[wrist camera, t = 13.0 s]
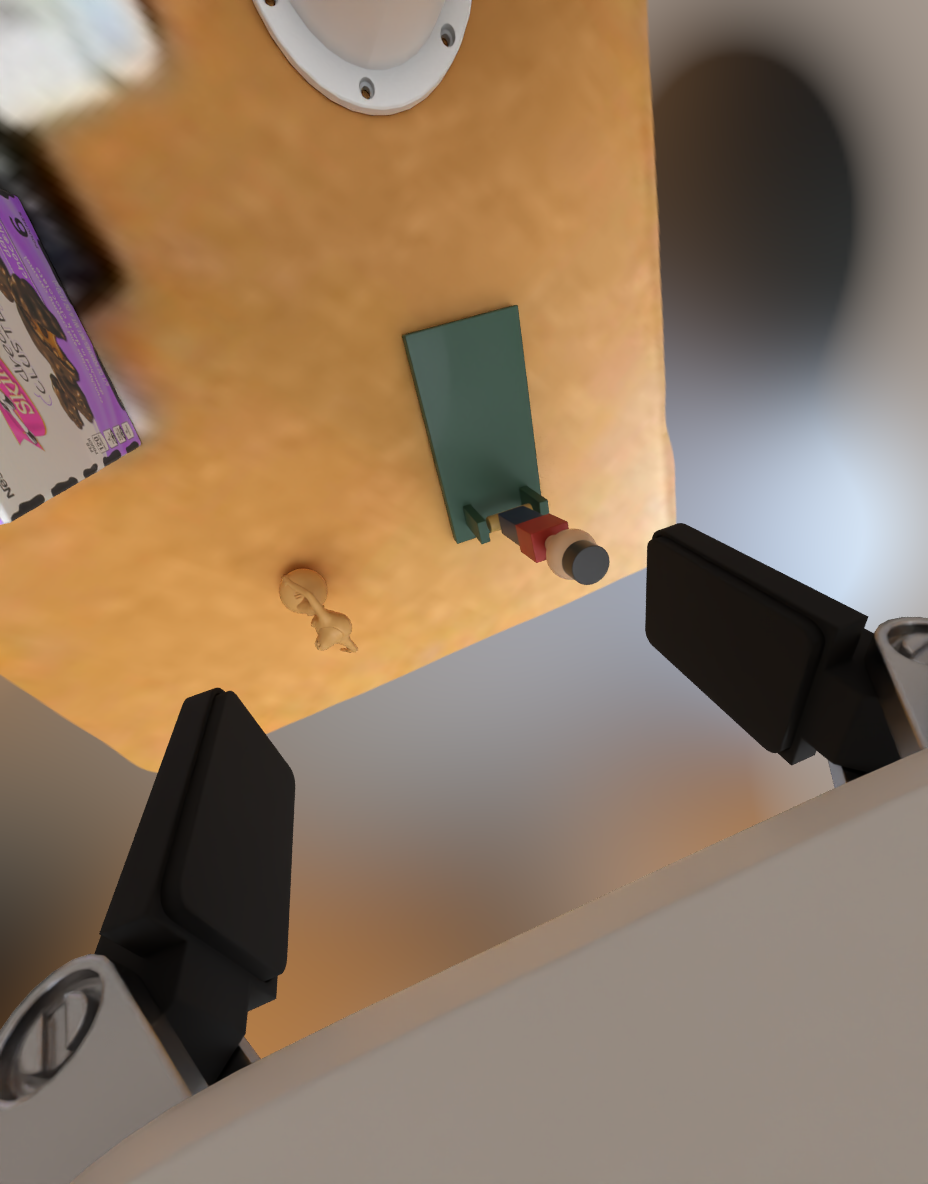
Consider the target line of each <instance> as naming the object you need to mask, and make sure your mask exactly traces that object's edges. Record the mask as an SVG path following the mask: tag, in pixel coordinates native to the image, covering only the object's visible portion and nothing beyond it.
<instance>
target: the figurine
mask: <svg viewBox="0 0 928 1184" xmlns="http://www.w3.org/2000/svg"><path fill="white" fill-rule="evenodd" d="M281 578H282V579H283V580H282V581H281V584H280V588H279V594H280V598H281V601H282V602H283V604H284V605H285V606H286V607H287V608H288V609H289V610H291V611H293V612H296V613H300V614H307V615H309V616H313V615H315V616H314V617H313V619H312V622H311V626H312V627H314V628H315V629H316V632H317V633H318V637H317V639H316V641H315V646H316V647H317V649H318V650H327V649H328V648H330V647H331V646H332V645H334V644H342V645H345V646H346V647H347V649H345V648H343V649H340V650H341V651H344V652H348V653H351V652H357V651H358V647H357V646H356V645H355V643H354V642H353V641H352V640H351V639H350V636H349V635H350V634H351V632H352V624H351V621H350V619H349V618H348V617H347V616H346V615H344V614H342V613H339V612H334V611H332V610H327V609H325V608H324V605H323V603H324V602H325V600H326V597H327V585H326V582H325V580H324V579H323V577H322V576H321V575H320V574H318V573H317V572H315V571H313V570H310V569H296V570H293V571H291V572H290V573H288V574H287V575H284V577H281Z"/></svg>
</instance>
